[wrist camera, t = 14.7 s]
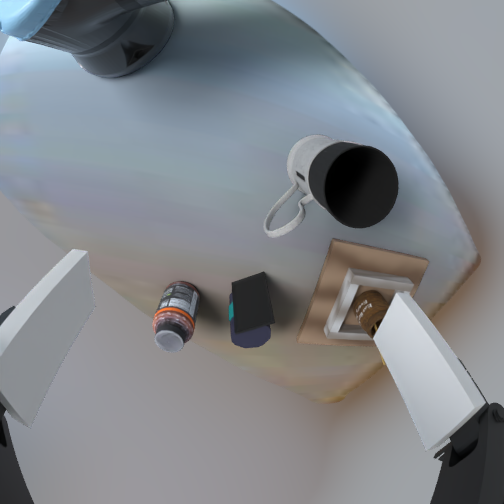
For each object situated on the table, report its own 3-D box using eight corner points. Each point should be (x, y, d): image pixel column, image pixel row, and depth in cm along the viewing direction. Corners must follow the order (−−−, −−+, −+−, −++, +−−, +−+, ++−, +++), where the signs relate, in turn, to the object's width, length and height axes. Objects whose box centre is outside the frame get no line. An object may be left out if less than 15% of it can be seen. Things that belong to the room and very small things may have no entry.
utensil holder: (385, 287, 43) (418, 331, 32) (375, 316, 46) (403, 362, 35) (356, 288, 43) (385, 335, 32) (347, 318, 45) (371, 367, 34)
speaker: (226, 272, 41) (228, 321, 33) (264, 271, 42) (275, 318, 33) (229, 310, 45) (231, 358, 36) (263, 308, 46) (272, 356, 37)
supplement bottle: (189, 315, 45) (178, 364, 35) (159, 298, 43) (140, 344, 33) (207, 291, 43) (198, 340, 33) (175, 273, 41) (157, 317, 31)
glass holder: (357, 176, 36) (415, 204, 23) (275, 228, 39) (293, 282, 25) (327, 123, 33) (379, 121, 19) (240, 177, 36) (240, 206, 22)
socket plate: (332, 238, 40) (340, 248, 37) (425, 258, 42) (436, 267, 39) (296, 338, 48) (299, 352, 45) (383, 342, 50) (390, 354, 47)
